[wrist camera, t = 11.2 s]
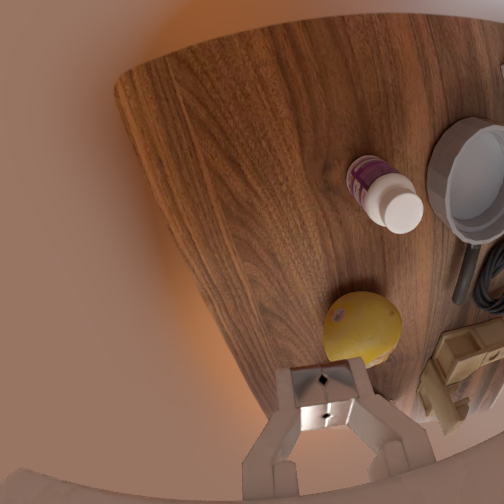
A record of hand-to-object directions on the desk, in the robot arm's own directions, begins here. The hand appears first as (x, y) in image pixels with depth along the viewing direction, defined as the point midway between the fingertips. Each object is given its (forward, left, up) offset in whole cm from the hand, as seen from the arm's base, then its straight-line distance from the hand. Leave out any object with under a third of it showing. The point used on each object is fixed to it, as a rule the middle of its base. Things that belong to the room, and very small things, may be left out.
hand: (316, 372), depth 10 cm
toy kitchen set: (+40, +37, -26) cm, 60 cm away
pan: (+2, +26, -26) cm, 37 cm away
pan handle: (+15, +26, -23) cm, 38 cm away
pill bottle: (+3, +11, -26) cm, 28 cm away
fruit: (+21, +10, -26) cm, 35 cm away
